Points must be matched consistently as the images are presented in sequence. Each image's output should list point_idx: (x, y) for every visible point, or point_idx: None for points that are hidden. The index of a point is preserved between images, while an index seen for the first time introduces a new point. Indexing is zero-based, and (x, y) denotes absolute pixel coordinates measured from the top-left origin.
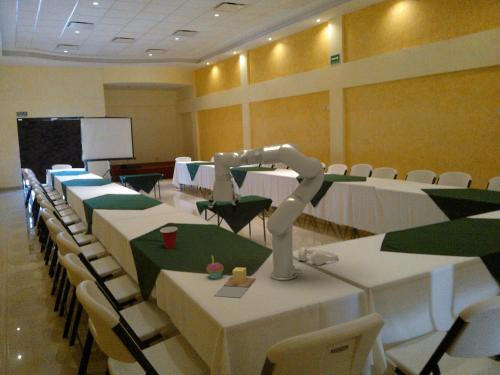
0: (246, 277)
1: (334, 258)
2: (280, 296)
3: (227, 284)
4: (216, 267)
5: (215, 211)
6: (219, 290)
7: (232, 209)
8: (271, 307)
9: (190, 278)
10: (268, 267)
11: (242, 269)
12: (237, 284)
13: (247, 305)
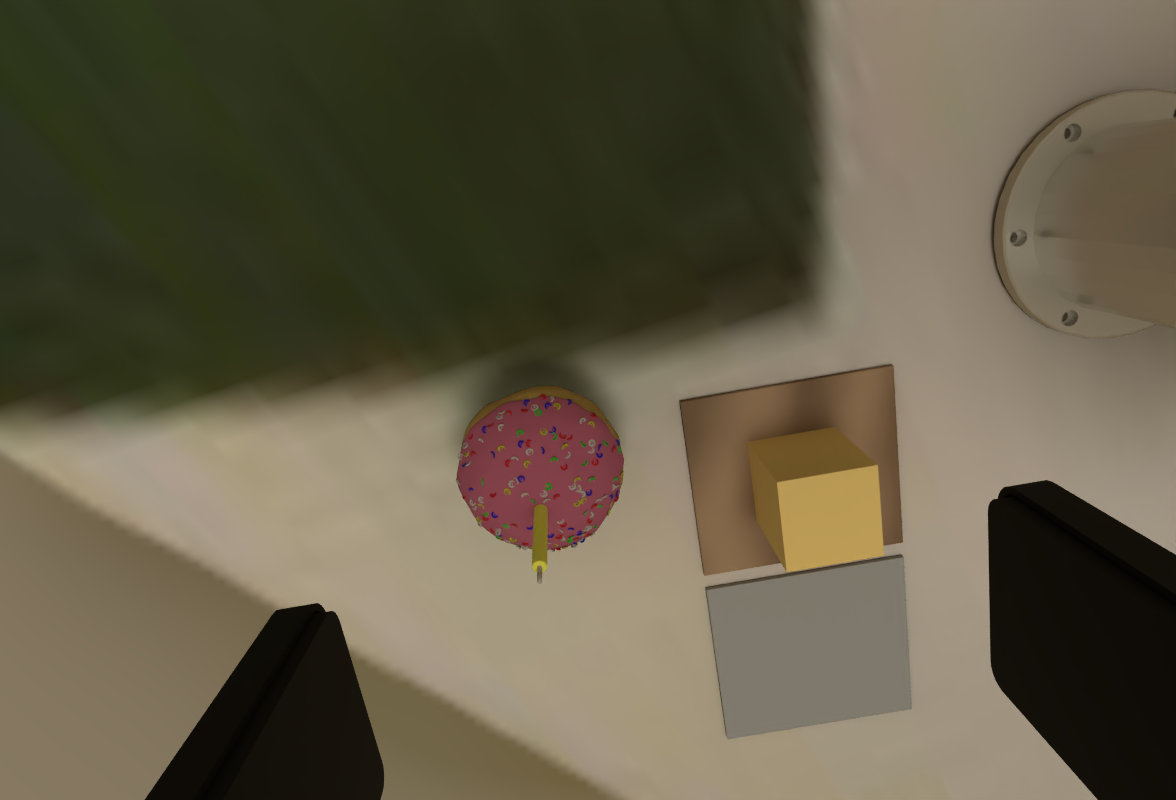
0: (843, 436)
1: None
2: None
3: (724, 553)
4: (588, 525)
5: (364, 792)
6: (722, 663)
7: (1092, 782)
8: None
9: (358, 530)
10: (906, 24)
11: (862, 514)
12: None
13: (988, 771)
